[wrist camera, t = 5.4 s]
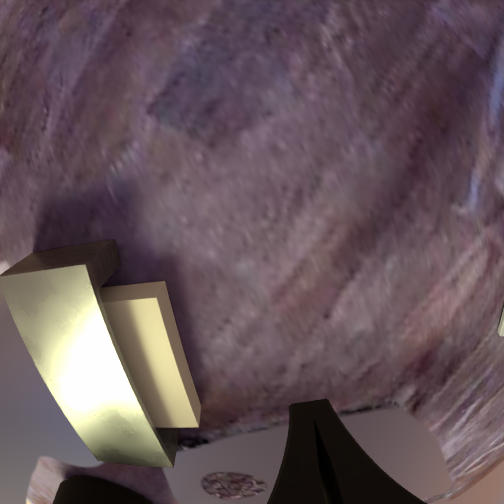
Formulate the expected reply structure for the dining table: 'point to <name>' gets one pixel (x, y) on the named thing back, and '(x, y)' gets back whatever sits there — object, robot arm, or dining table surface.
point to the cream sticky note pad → (153, 352)
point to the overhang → (84, 352)
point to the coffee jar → (95, 492)
